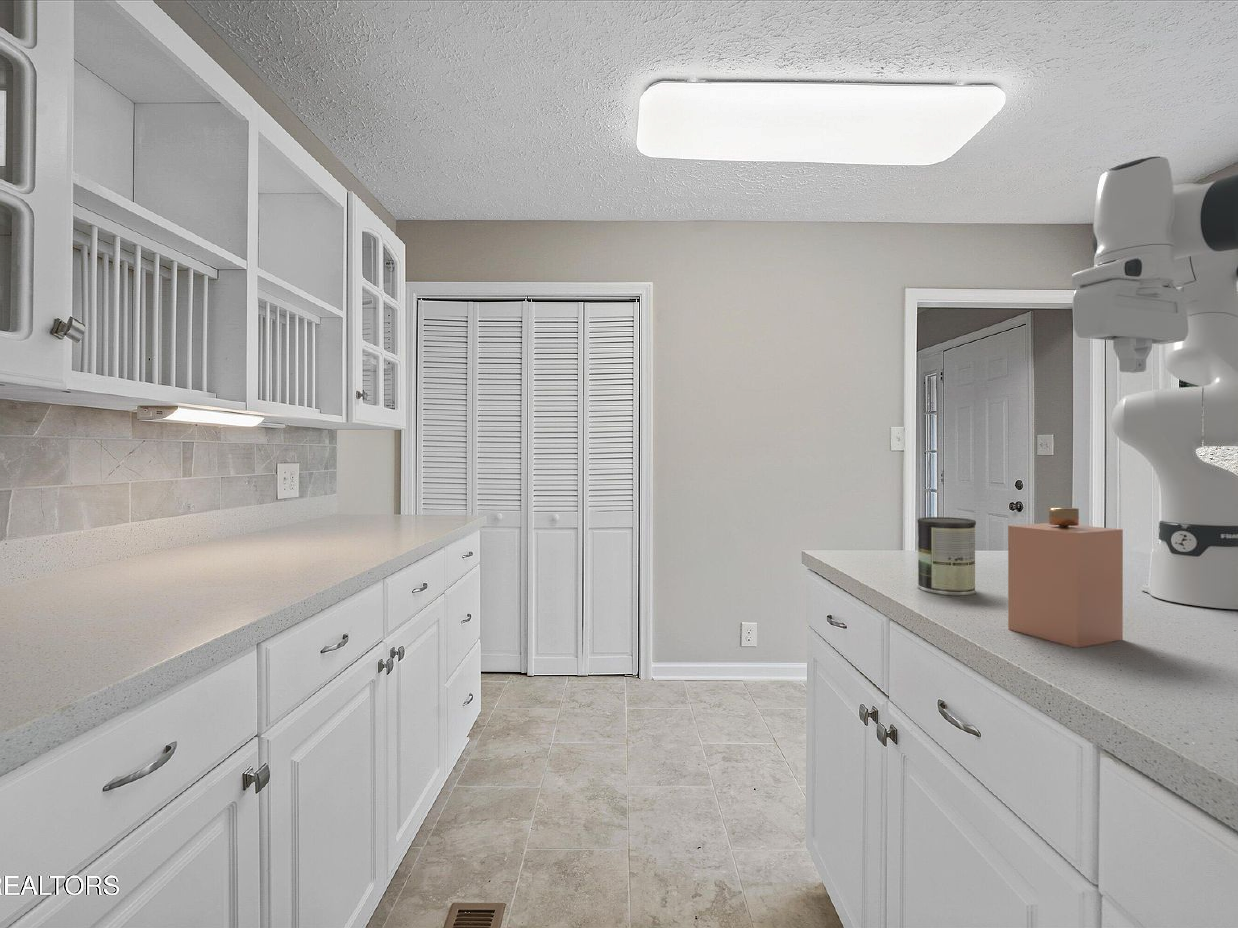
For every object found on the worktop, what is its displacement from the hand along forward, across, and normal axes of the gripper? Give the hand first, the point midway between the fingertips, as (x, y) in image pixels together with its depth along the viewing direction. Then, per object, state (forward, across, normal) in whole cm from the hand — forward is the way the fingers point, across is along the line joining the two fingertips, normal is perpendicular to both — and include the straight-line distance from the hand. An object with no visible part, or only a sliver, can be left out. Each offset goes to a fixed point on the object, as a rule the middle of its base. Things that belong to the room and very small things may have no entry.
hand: (1132, 372), depth 88 cm
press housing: (+39, +6, -6) cm, 40 cm away
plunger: (+33, +6, -6) cm, 34 cm away
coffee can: (+39, -4, -35) cm, 52 cm away
